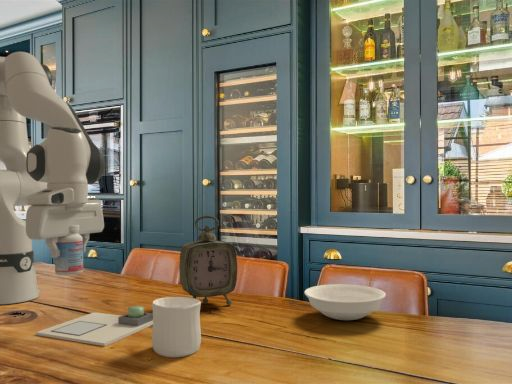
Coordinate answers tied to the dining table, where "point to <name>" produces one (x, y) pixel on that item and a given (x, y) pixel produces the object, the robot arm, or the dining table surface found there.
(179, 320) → the cup
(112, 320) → the paper board
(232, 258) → the tabletop clock
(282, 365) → the dining table surface
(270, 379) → the dining table surface
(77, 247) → the pill bottle
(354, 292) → the bowl
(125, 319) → the button housing
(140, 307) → the button
